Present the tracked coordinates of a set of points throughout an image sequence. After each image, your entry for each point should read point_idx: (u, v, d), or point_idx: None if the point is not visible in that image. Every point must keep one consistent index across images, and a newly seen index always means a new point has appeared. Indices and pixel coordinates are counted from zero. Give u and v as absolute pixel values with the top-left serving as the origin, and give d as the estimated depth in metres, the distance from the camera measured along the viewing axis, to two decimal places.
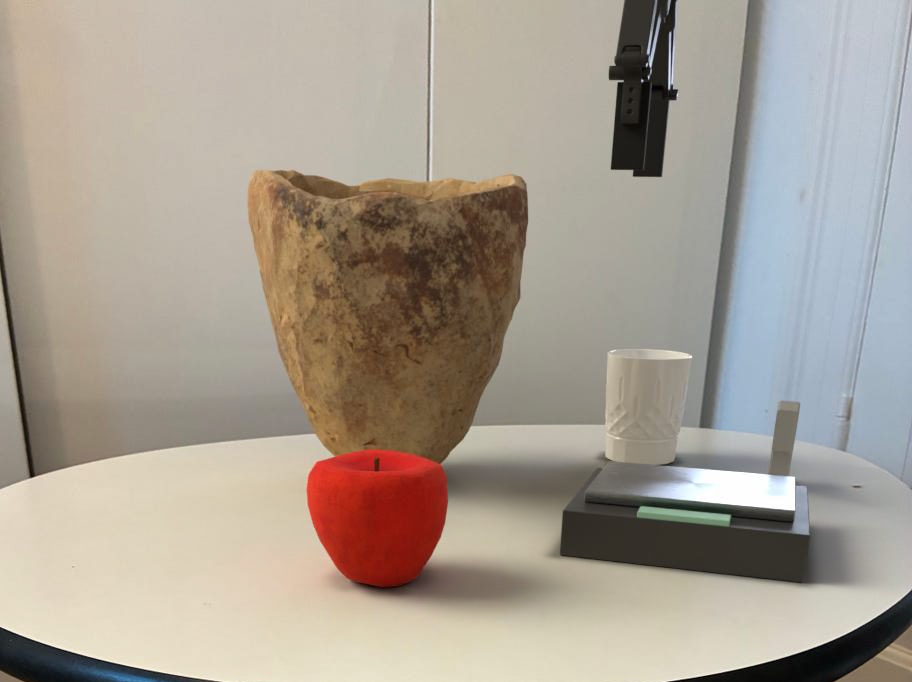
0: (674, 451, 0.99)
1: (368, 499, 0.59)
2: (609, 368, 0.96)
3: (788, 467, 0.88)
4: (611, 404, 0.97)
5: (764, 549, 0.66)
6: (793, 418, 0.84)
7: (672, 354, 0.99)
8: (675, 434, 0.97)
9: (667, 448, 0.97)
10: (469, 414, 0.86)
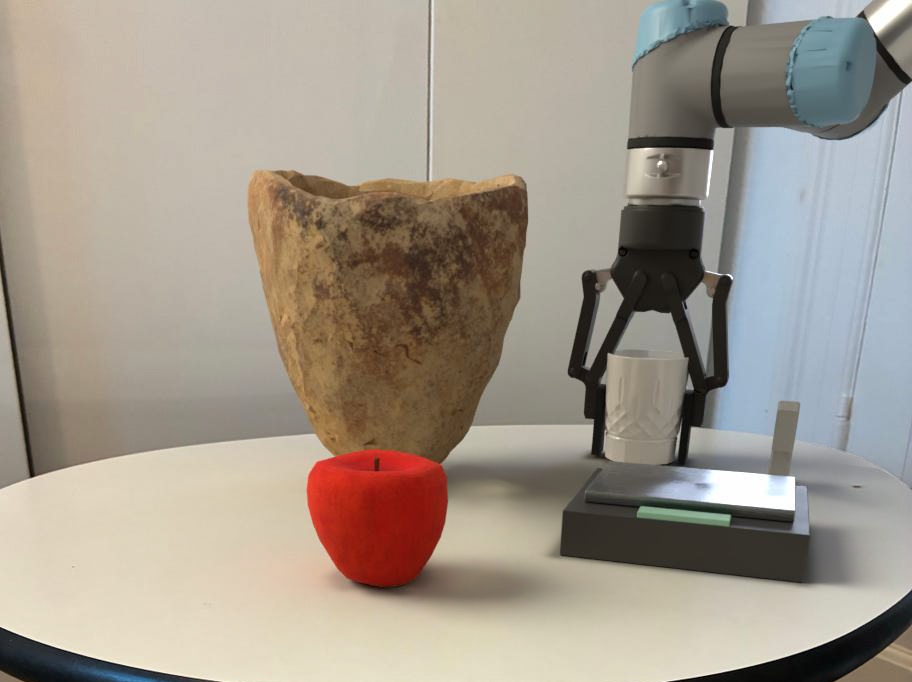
0: (674, 451, 0.99)
1: (368, 499, 0.59)
2: (609, 368, 0.97)
3: (788, 467, 0.88)
4: (611, 404, 0.97)
5: (764, 549, 0.66)
6: (793, 418, 0.84)
7: (672, 354, 0.99)
8: (675, 434, 0.97)
9: (666, 448, 0.97)
10: (469, 414, 0.86)
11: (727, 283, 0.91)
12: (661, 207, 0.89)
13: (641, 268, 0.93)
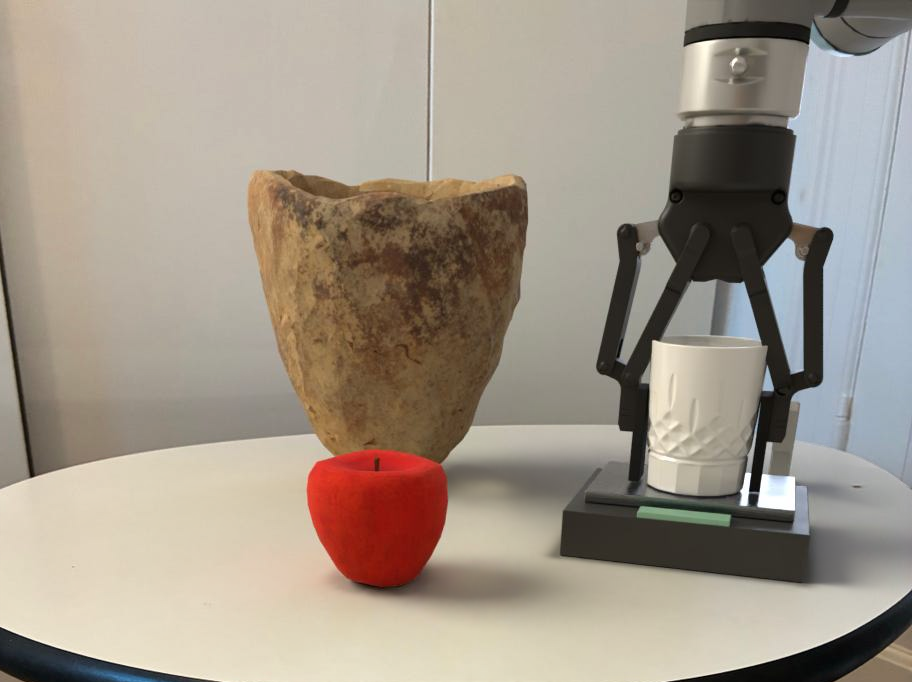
0: (743, 476, 0.71)
1: (368, 499, 0.59)
2: (654, 361, 0.69)
3: (788, 467, 0.88)
4: (657, 411, 0.70)
5: (764, 549, 0.66)
6: (793, 418, 0.84)
7: (740, 342, 0.72)
8: (746, 453, 0.70)
9: (734, 472, 0.70)
10: (469, 414, 0.86)
11: (827, 239, 0.64)
12: (735, 127, 0.61)
13: (702, 219, 0.66)
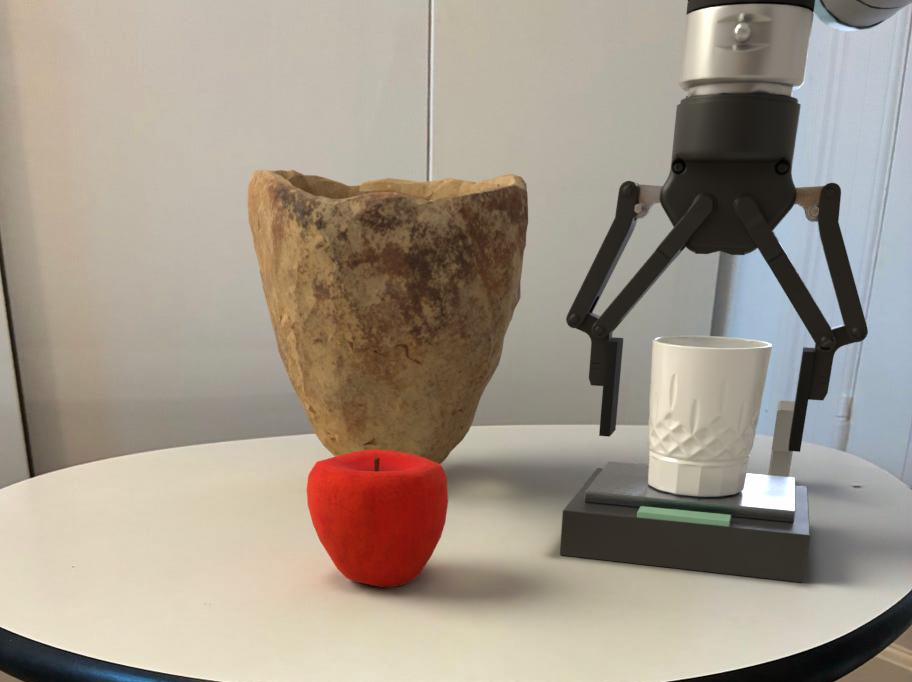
0: (744, 477, 0.71)
1: (368, 499, 0.59)
2: (655, 361, 0.69)
3: (788, 467, 0.88)
4: (658, 412, 0.70)
5: (764, 549, 0.66)
6: None
7: (741, 343, 0.72)
8: (747, 453, 0.70)
9: (735, 473, 0.70)
10: (469, 414, 0.86)
11: (834, 193, 0.63)
12: (739, 95, 0.61)
13: (705, 190, 0.65)
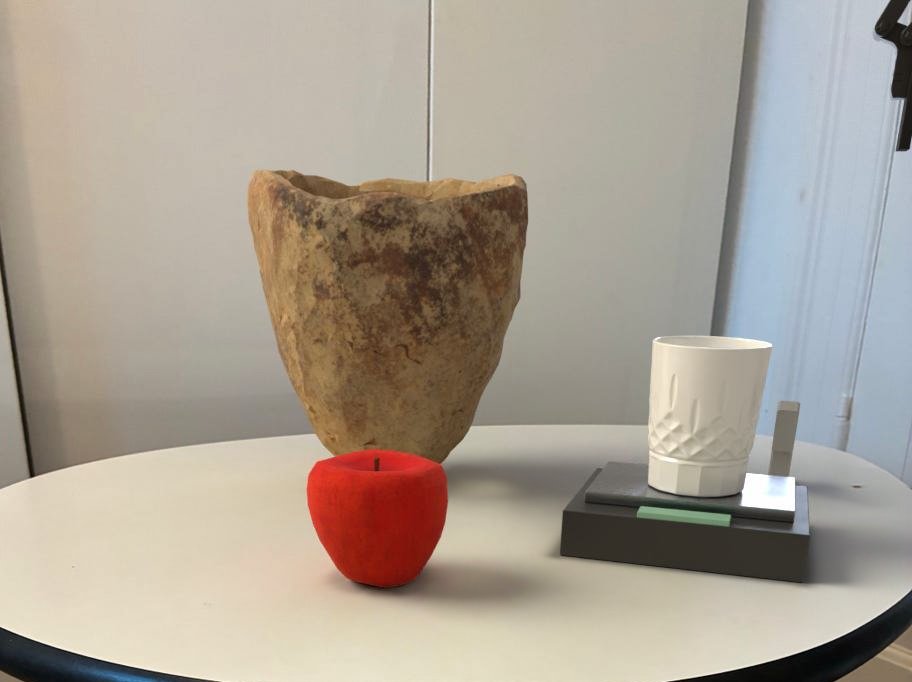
0: (744, 477, 0.71)
1: (368, 499, 0.59)
2: (655, 362, 0.69)
3: (788, 467, 0.88)
4: (658, 412, 0.70)
5: (764, 549, 0.66)
6: (793, 418, 0.84)
7: (741, 343, 0.72)
8: (747, 454, 0.70)
9: (735, 473, 0.70)
10: (469, 414, 0.86)
11: None
12: None
13: None
